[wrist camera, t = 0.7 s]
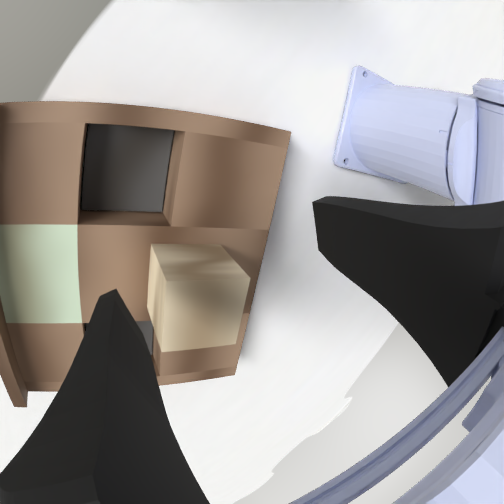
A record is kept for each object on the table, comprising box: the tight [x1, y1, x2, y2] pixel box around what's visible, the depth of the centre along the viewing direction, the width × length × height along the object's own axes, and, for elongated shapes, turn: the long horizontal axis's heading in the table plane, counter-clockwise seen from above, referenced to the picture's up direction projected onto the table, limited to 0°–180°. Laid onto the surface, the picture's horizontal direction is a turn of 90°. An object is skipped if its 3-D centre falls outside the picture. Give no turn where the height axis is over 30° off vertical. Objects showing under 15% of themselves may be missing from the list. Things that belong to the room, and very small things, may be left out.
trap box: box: [0, 101, 291, 407], centre depth 17 cm, size 17×18×4 cm
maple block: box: [147, 244, 250, 352], centre depth 16 cm, size 4×4×4 cm
